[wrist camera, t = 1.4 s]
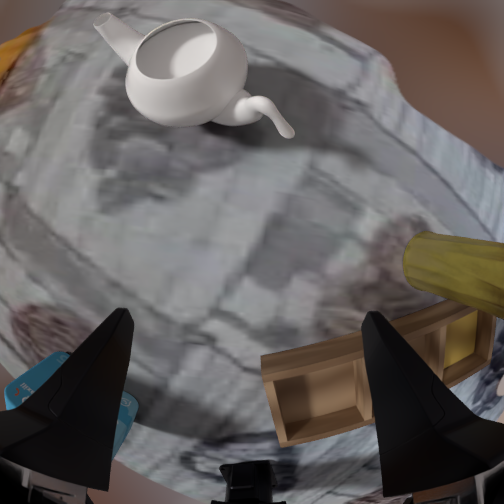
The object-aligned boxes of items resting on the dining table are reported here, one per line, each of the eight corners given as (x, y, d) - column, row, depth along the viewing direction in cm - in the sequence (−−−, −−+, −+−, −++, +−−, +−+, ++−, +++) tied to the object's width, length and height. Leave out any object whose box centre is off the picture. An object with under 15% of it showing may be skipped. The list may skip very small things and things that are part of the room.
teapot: (250, 199, 24) (248, 184, 15) (104, 96, 23) (58, 58, 14) (314, 122, 23) (342, 74, 14) (162, 34, 22) (136, -17, 13)
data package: (143, 400, 26) (100, 470, 14) (134, 422, 27) (96, 488, 15) (60, 347, 26) (-2, 390, 14) (57, 372, 26) (2, 416, 14)
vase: (392, 254, 24) (499, 281, 10) (430, 219, 24) (538, 220, 10) (416, 301, 25) (512, 350, 11) (452, 265, 24) (550, 290, 10)
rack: (474, 353, 26) (491, 364, 22) (278, 426, 26) (281, 448, 22) (478, 285, 25) (498, 291, 21) (260, 355, 25) (261, 375, 22)
